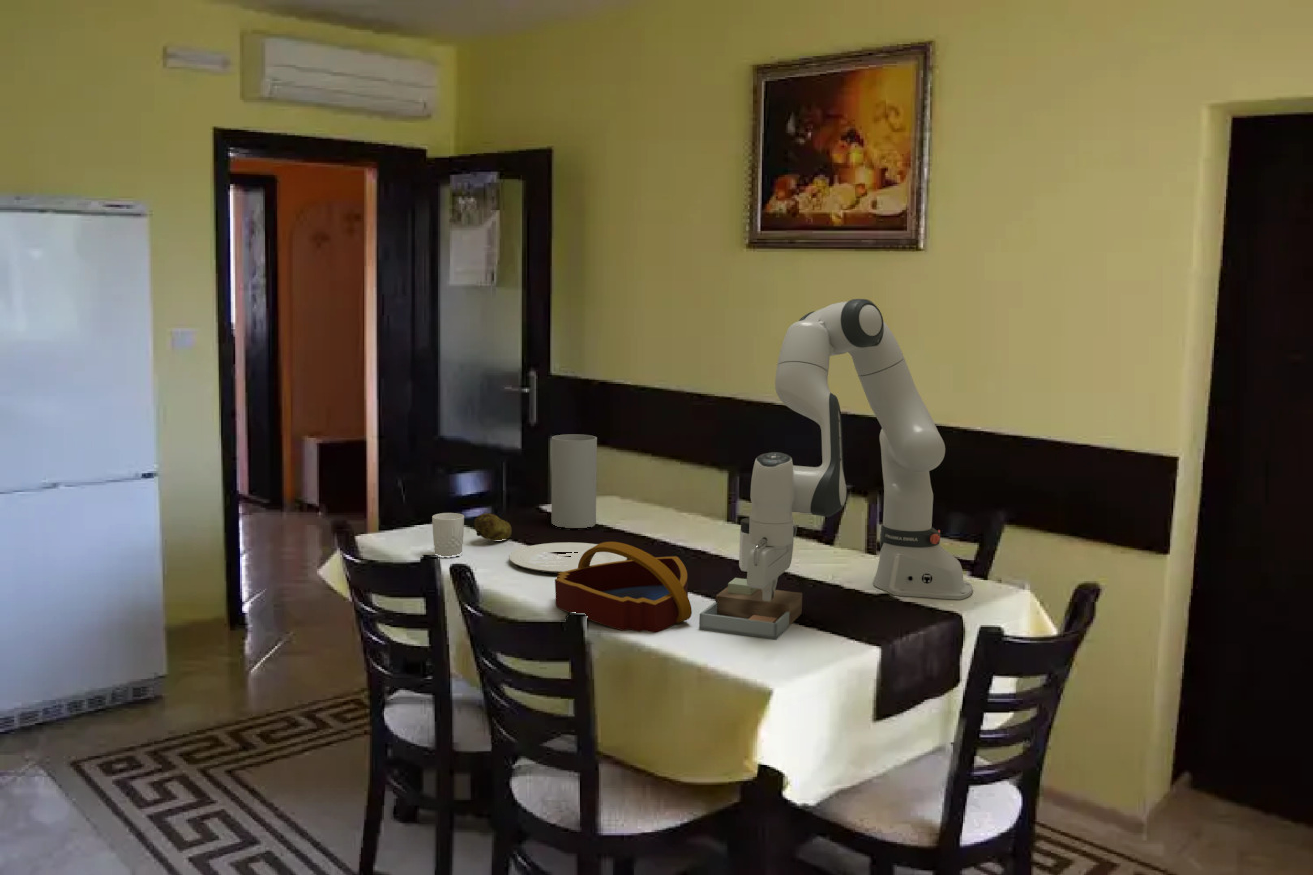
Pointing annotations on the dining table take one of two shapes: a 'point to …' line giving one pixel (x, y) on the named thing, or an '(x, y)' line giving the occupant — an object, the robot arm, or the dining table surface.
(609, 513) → the dining table surface
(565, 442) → the cylinder vase
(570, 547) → the plate
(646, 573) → the decorative basket
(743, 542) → the jar
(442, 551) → the white cup
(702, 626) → the tray
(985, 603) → the dining table surface
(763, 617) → the terracotta tile
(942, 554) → the robot arm
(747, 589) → the sage tile
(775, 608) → the walnut block
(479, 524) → the potato
